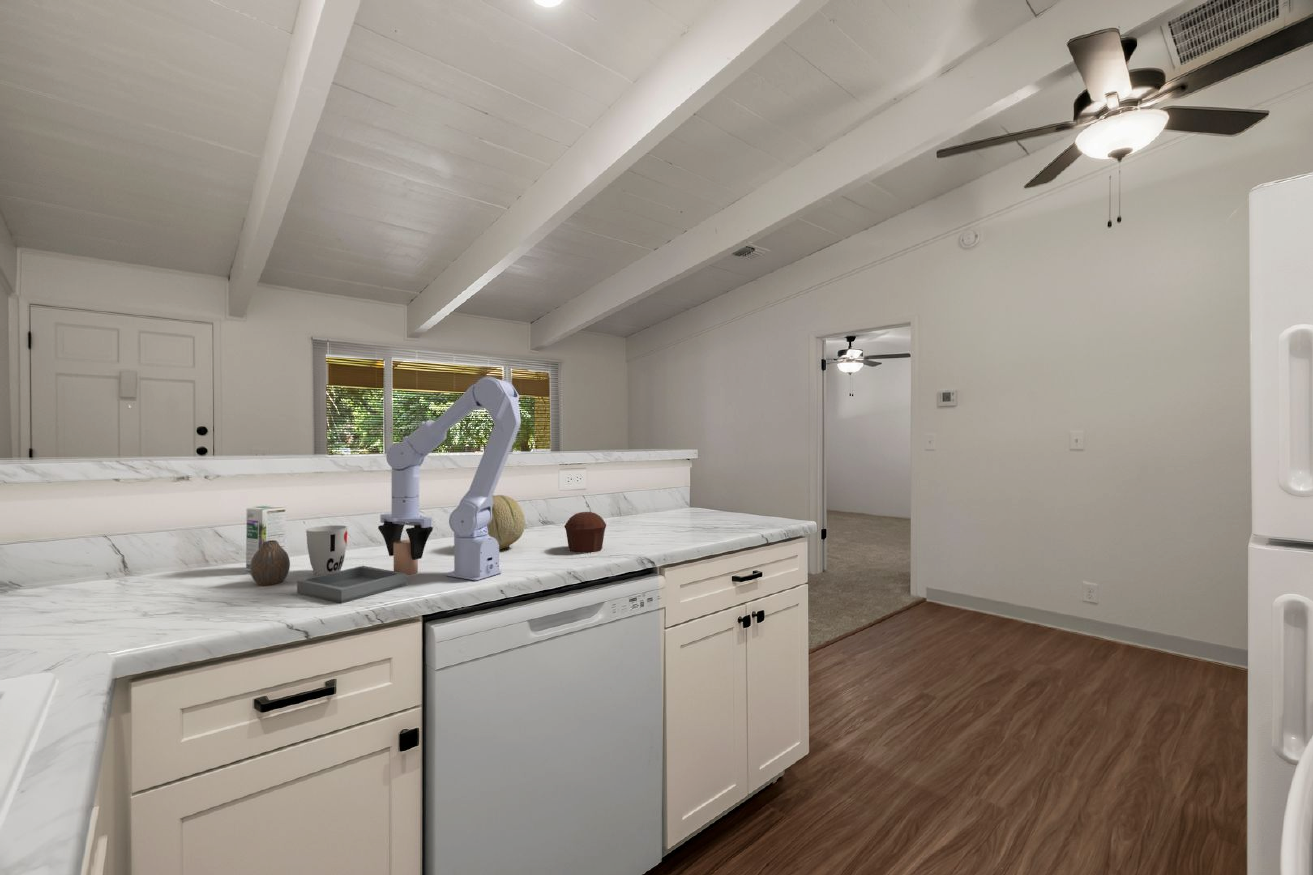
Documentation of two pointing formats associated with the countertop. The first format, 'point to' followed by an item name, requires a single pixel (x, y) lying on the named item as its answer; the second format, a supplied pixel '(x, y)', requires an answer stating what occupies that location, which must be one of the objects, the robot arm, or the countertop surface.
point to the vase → (270, 564)
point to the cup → (327, 548)
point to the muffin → (585, 532)
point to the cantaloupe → (506, 521)
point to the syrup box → (264, 528)
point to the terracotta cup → (404, 558)
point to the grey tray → (351, 584)
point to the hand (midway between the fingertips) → (405, 556)
